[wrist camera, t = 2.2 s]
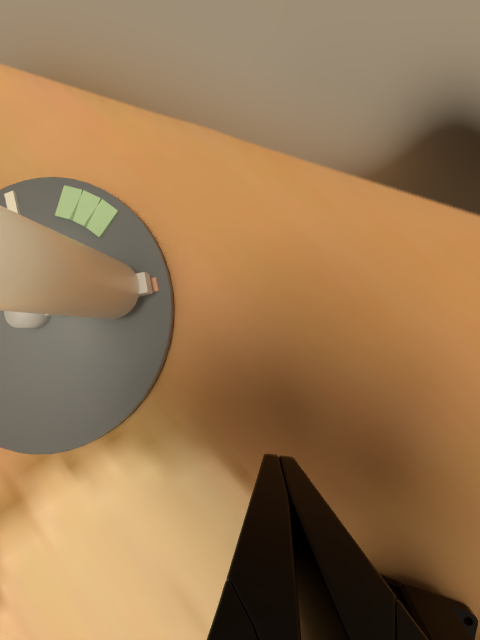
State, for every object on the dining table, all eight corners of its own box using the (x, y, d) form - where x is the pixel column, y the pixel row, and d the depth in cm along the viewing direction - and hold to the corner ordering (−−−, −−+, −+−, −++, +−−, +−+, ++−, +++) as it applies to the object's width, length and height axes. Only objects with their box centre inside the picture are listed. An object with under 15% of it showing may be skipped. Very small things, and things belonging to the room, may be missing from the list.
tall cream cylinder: (56, 333, 18) (-418, 336, 6) (48, 280, 19) (-419, 171, 6) (155, 312, 17) (-148, 259, 5) (146, 256, 18) (-164, 69, 5)
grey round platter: (134, 486, 18) (116, 507, 16) (-93, 406, 21) (-135, 414, 19) (204, 207, 19) (195, 191, 17) (-29, 165, 22) (-63, 146, 19)
